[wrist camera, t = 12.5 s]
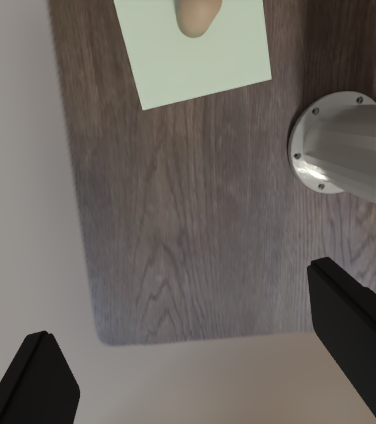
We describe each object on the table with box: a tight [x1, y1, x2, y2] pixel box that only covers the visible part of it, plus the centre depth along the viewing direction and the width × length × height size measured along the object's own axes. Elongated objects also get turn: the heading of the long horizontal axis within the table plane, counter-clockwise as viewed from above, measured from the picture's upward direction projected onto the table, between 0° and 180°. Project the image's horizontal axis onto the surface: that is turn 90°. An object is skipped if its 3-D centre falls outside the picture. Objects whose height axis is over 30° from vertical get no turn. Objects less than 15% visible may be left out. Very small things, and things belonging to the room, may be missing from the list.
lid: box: [114, 0, 271, 110], centre depth 25 cm, size 13×13×6 cm
